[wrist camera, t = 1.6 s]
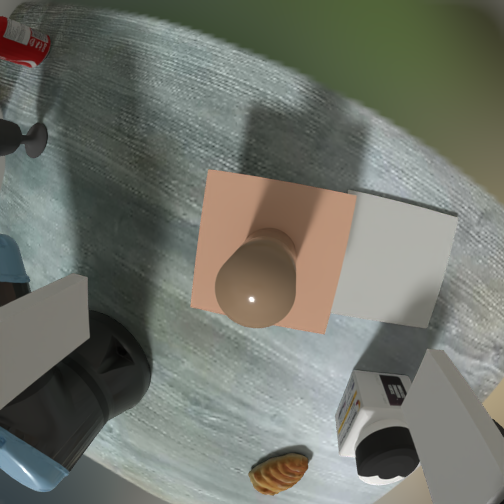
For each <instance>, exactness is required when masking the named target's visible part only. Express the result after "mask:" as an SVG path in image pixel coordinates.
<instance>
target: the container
mask: <svg viewBox="0 0 504 504" xmlns="http://www.w3.org/2000/svg"><path fill="white" fill-rule="evenodd" d="M411 385H412V382H411V380H410V378H409V377H408V376H407V375H396V374H386V373H377V372H368V371H360V370H354V371H353V372H352V374H351V377H350V379H349V382H348V385H347V387H346V390H345V392H344V395H343V397H342V400H341V402H340V405H339V407H338V410H337V412H336V415H335V419H336V428H337V438H338V447H339V455H340V456H345V457H355V458H356V465H357V472H358V476H359V478H360V479H361V480H362V481H364V482H366V483H368V484H371V485H385V484H390V483H394V482H396V481H399V480H401V479H403V478H405V477H406V476H408V475H409V474H410V473H412V472H413V471H414V470H415V468H416V467H417V465H418V464H419V462H420V460H419V457H418V454H417V451H416V448H415V445H414V442H413V439H412V436H411V433H410V430H409V428H408V425H407V422H406V419H405V417H404V414H403V411H402V409H401V405H402V403H403V401H404V399H405V397H406V395H407V393H408V391H409V389H410V387H411Z"/></svg>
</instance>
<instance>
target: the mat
mask: <svg viewBox="0 0 504 504" xmlns="http://www.w3.org/2000/svg"><path fill="white" fill-rule="evenodd" d="M347 194H351V195H355V196H357V198H356V203H355V209H354V214H353V219H352V224H351V229H350V233H349V238H348V243H347V247H346V252H345V256H344V260H343V265H342V269H341V273H340V277H339V281H338V285H337V289H336V293H335V297H334V301H333V305H332V309H331V313H333V314H338V315H344V316H350V317H356V318H362V319H368V320H374V321H380V322H386V323H393V324H399V325H406V326H412V327H419V328H426V329H427V327H428V324H429V322H430V319H431V316H432V313H433V310H434V307H435V304H436V301H437V298H438V295H439V291H440V288H441V285H442V282H443V278H444V275H445V271H446V267H447V264H448V260H449V256H450V252H451V248H452V244H453V240H454V236H455V231H456V227H457V222H458V218H457V217H454V216H451V215H447V214H444V213H440V212H437V211H433V210H429V209H426V208H422V207H418V206H415V205H411V204H407V203H403V202H399V201H395V200H391V199H387V198H383V197H379V196H375V195H371V194H366V193H362V192H358V191H353V190H349V189H348V192H347Z"/></svg>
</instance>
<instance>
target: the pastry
mask: <svg viewBox="0 0 504 504" xmlns="http://www.w3.org/2000/svg"><path fill="white" fill-rule="evenodd" d="M307 469H308V458H307V457H305V456H303V455H300V454H295V453H288V454H286V455H283V456H278V457H273V458H270V459H269V460H267V461H265V462H263V463H261V464H259V465H257V466H256V467H255V468H253V469H252V470H251V471H250V472H249V474H248V475H249V477H250V481H251V482H252V483H253V487H254V488H255V489H256V490H257V491H258V492H260V493H262V494H265V495H267V494H269V495H274V494H278V493H279V492H281V491H284V490H287V489H288V488H291V487H292V486H293V485H294V484H296V483H297V482H298V481H299V480H300V479H301V478H302V477H303V475H304V473H305V472H306V470H307Z"/></svg>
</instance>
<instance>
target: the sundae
mask: <svg viewBox="0 0 504 504" xmlns="http://www.w3.org/2000/svg"><path fill="white" fill-rule="evenodd" d="M46 143H47V131H46V128H45V126H44V125H43V124H41V123H37V124H35V125H33V126H32V127H31V128H30V129H29V131H28V133H27V135H22V132H21V130H20V127H19V126H18V125H17V124H15V123H13V122H10V121H7V120H3V119H0V156H5V155H8V154H11V153H13V152H15V151H16V149H17V148H18V147H19V145H20V144H25V149H26V152H27V154H28V156H29V157H31V158H36V157H38V156H39V155H40V154H41V153H42V152H43V150H44V148H45V146H46Z"/></svg>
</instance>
